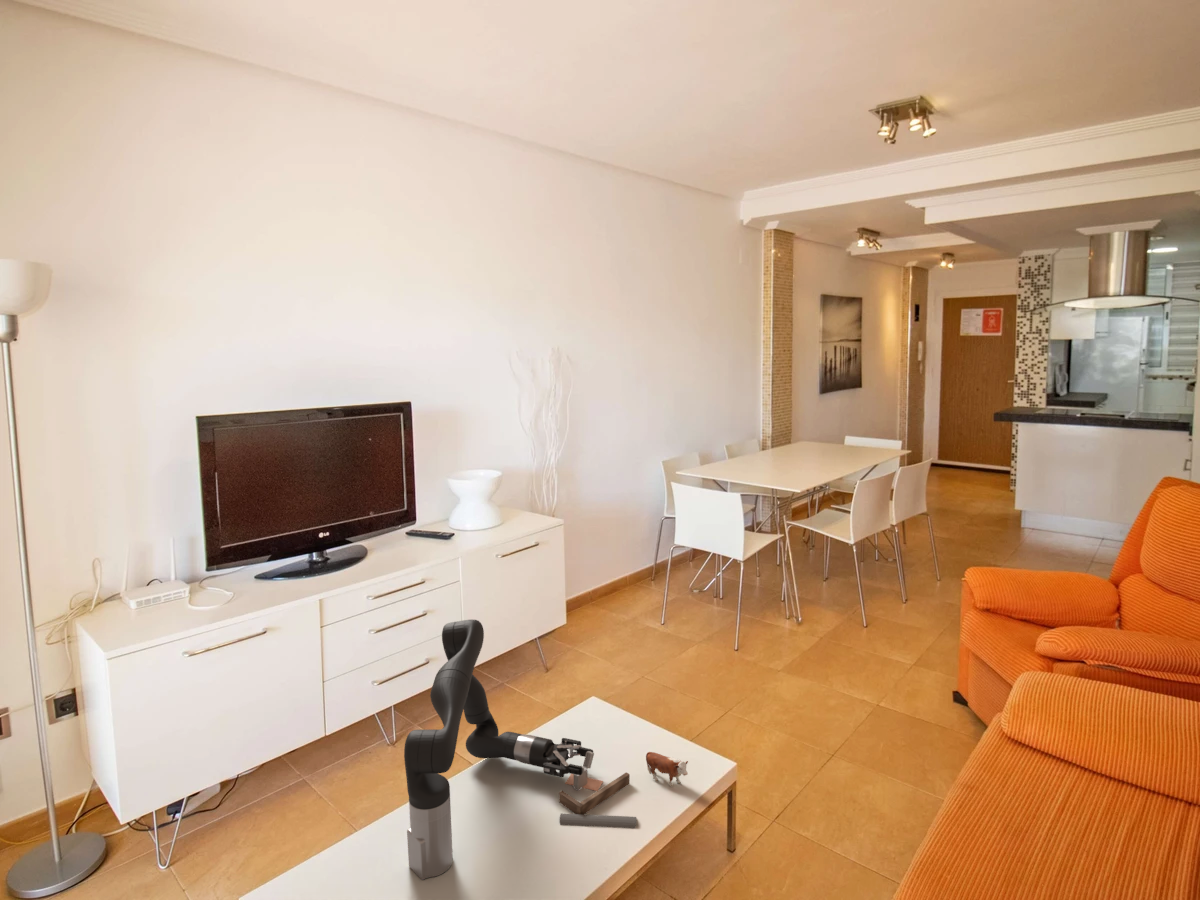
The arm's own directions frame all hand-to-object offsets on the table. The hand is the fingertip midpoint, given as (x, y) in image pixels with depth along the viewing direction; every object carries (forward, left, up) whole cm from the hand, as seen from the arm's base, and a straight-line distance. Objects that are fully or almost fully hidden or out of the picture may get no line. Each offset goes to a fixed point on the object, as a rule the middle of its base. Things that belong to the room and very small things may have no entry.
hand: (587, 762), depth 190 cm
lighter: (-1, +1, -6) cm, 6 cm away
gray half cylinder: (-9, -13, -7) cm, 17 cm away
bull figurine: (+16, -15, -7) cm, 23 cm away
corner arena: (-1, -4, -6) cm, 8 cm away
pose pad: (0, +1, -6) cm, 6 cm away
